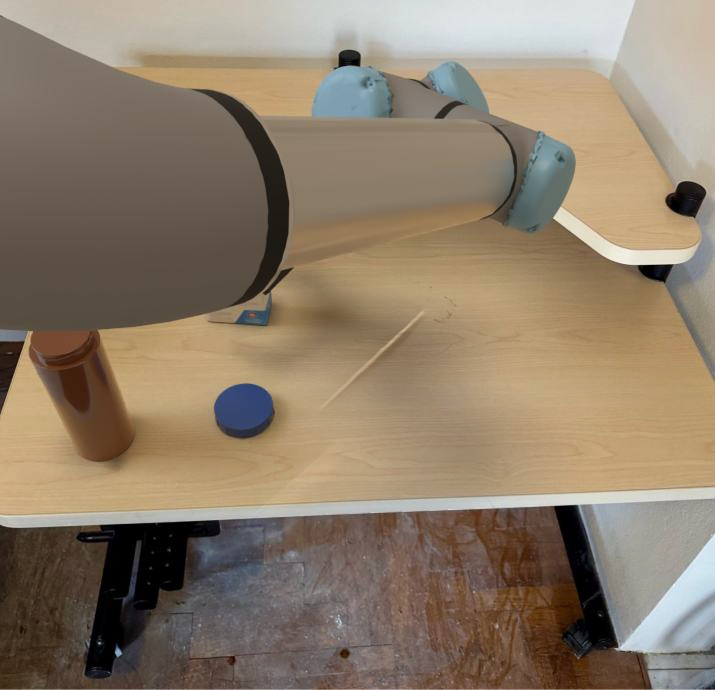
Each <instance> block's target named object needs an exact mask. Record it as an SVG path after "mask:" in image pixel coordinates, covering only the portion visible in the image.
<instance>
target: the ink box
mask: <svg viewBox="0 0 715 690" xmlns="http://www.w3.org/2000/svg"><path fill="white" fill-rule="evenodd" d="M272 297H273V296H272V290H271V291H270V293H268V294H267V295H264V294H263V293H262V294H261V295H260V296H258V297H256V298H254V299H252V300H251V301H248V302H245V303H242V304H239V305H235V306H232V307H228V308H225V309H222V310H220V311H216V312H212V313H207V314H205V317H206V321H207V322H211V323H227V324H228V323H229V324H240V325H241V324H242V325H243V324H244V325H254V326H257V325H258V326H267V325H268V321H269V316H270V312H271V308H272V303H273V299H272Z"/></svg>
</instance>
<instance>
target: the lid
mask: <svg viewBox="0 0 715 690" xmlns="http://www.w3.org/2000/svg"><path fill="white" fill-rule="evenodd" d="M213 413H214V418H215V422H216V426H217V427H218V428H219V429H220V430H221V431H222V432H223V433H224V434H226V435H228V436H230V437H232V438H236V439H237V438H238V439H245V438H246V439H247V438H251V437H255V436H258V435H259V434H261V433H263V432H265V430H266V429H267V428H268V427H269V426H270V425H271V423H272V421H273V418H274V414H275V408H274V402H273V399H272V395H271V394H270V393H269V392H268V390H266V389H265V388H264V387H262V386H260V385H258V384H255V383H249V382H248V383H247V382H244V383H238V384H233V385H231V386H229V387H227V388H226V389H224V390H223V391H222V392H221V393H219V394H218V396H217V398H216V399H215V402H214V405H213Z"/></svg>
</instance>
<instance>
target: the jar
mask: <svg viewBox="0 0 715 690" xmlns="http://www.w3.org/2000/svg"><path fill="white" fill-rule="evenodd" d="M29 342H30V344H29V346H28V357H29V359H30V361H31V363H32V365H33V367H34V369H35V371H36V373H37V375H38V377H39V379H40V381H41V383H42V385H43V387H44V389H45V391H46V393H47V395H48V397H49V399H50V402H51V403H52V405H53V407H54V409H55V411H56V414H57V415H58V417H59V419H60V421H61V423H62V425H63V427H64V429H65V431H66V434H67V435H68V437H69V439H70V441H71V443H72V445H73V447H74V449H75V450H76V452H77V454H78V455H79V456H80V458H81V457H82V458H83V459H85V460H88V461H90V462H91V461H92V462H105V461H109V460H112V459H115V458H117V457H119V456H120V455H122V454H124V452H126V451H127V449H129V447H130V446H131V445H132V443H133V441H134V438H135V434H136V433H135V432H136V431H135V430H136V428H135V426H134V423H133V421H132V417H131V415H130V411H129V410H128V407H127V404H126V401H125V398H124V396H123V393H122V391H121V387H120V385H119V383H118V379H117V377H116V374H115V372H114V368H113V367H112V364H111V360H110V358H109V355H108V353H107V350H106V347H105V344H104V342H103V339H102V336H101V334H100V332H99V330H91V331H62V332H36V331H32V333H31V334H30V339H29Z"/></svg>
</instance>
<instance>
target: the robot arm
mask: <svg viewBox="0 0 715 690" xmlns="http://www.w3.org/2000/svg"><path fill="white" fill-rule="evenodd" d="M576 158H577V157H576V154H575V152H574V150H573V148H572V147H571V146H570V145H568V144H566V143H565V142H562V141H560V140H557V139H555V138H554V137H551V136H549V135H547V134H546V133H545V132H544V131H542V130H538V131H537V130H534V129H532V128H529V127H526V126H523V125H521V124H518V123H516V122H514V121H510V120H508V119H505V118H503V117H499V116H497V115H494V114H492V113H490V109H489V105H488V102H487V99H486V97H485V95H484V92H483V91H482V89H481V87H480V85H479V84H478V82H477V81H476V80H475V78H474V76H472V74H471V73H470V72H469V71H468V70H467V69H466V68H465V67H464V66H463V65H462V64H460V63H458V62H456V61H453V60H451V61H449V60H447V61H445V62H443V63H442V64H440V65H439V66H437V67H436V68H435V69H433V70H429V71H428V72H427V73H426V75H425V76H424V77H423V78H421V79H420V80H419V79H415V78H409V77H408V78H406V77H402V76H399V75H396V74H392V73H388V72H385V71H381V70H378V69H376V68H374V67H372V66H371V65H365V66H357V65H346V66H340V67H338V68H336V69H334V70H332V71H331V72H329V73H328V74H327V75H326V76H325V77H324V78H323V79H322V81H320V84H319V85H318V87H317V90H316V91H315V95H314V97H313V102H312V106H311V115H310V116H307V115H261V114H260V115H259V114H258V113H257V112H256V110H254V109H253V108H252V107H251V106H249V105H248V104H247V103H246V102H245V101H244V100H242V99H240V98H238V97H237V96H234V95H233V94H230V93H227V92H224V91H222V90H216V89H215V90H214V89H210V88H209V89H208V88H190V87H189V88H187V87H179V86H174V85H170V84H165V83H161V82H157V81H154V80H151V79H148V78H145V77H142V76H139V75H135V74H134V73H130V72H126V71H124V70H120V69H119V68H116V67H114V66H111V65H109V64H107V63H104V62H102V61H99V60H97V59H95V58H93V57H90V56H88V55H86V54H83V53H81V52H79V51H77V50H74V49H72V48H70V47H67V46H65V45H63V44H62V43H59V42H57V41H55V40H53V39H51V38H49V37H47V36H45V35H43V34H41V33H39V32H37V31H35V30H33V29H32V28H29V27H27V26H25V25H23V24H20V23H18V22H16V21H14V20H11V19H9V18H7V17H5V16H3V15H1V14H0V330H2V331H3V330H4V331H20V332H33V331H36V332H62V331H91V330H98V331H99V330H100V331H102V330H113V329H125V328H128V329H129V328H137V327H144V326H152V325H158V324H164V323H165V324H166V323H171V322H175V321H179V320H184V319H190V318H194V317H198V316H199V317H200V316H202V315H206V314H207V313H212V312H216V311H220V310H222V309H225V308H228V307H232V306H235V305H239V304H242V303H245V302H248V301H251V300H252V299H254V298H256V297H258V296H260V295H261V294H262V293H263V294H264V295H267V294H268V293H270V291H271V292H272V291H273V289H274V288H276V286H278V285H279V283H281V281H282V280H283V279H284V278H285V277H286V276H288V274H289V273H290V272H292V270H293V269H295V268H296V267H300V266H303V265H309V264H312V263H316V262H319V261H320V262H321V261H324V260H327V259H331V258H335V257H339V256H342V255H343V256H344V255H346V254H350V253H355V252H360V251H362V250H366V249H370V248H374V247H378V246H382V245H387V244H391V243H393V242H394V243H395V242H398V241H402V240H405V239H410V238H412V237H413V238H414V237H417V236H421V235H426V234H429V233H433V232H436V231H437V232H438V231H441V230H445V229H449V228H453V227H456V226H461V225H465V224H468V223H473V222H476V221H481V220H486V219H491V220H494V221H496V222H498V223H500V224H501V226H503V227H505V228H511V229H513V230H516V231H519V232H522V233H524V234H527V235H531V234H532V235H534V234H536V233H539V232H540V231H542V230H544V229H545V227H547V226H548V225H549V223H551V222H552V220H553V219H554V217H555V216H556V215H557V213H558V212H559V210H560V208H561V207H562V205H563V203H564V201H565V199H566V198H567V195H568V192H569V190H570V188H571V185H572V183H573V180H574V177H575V173H576V167H577V159H576Z"/></svg>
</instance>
